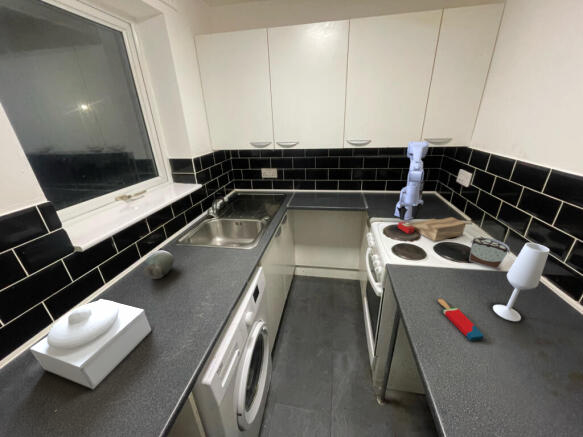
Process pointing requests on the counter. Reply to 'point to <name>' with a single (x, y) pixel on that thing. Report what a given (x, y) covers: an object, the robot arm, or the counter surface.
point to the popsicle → (461, 322)
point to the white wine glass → (524, 276)
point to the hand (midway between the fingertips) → (407, 218)
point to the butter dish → (91, 341)
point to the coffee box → (420, 189)
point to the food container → (488, 252)
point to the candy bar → (406, 227)
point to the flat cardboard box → (439, 228)
